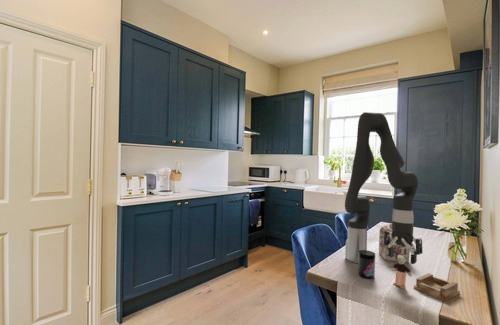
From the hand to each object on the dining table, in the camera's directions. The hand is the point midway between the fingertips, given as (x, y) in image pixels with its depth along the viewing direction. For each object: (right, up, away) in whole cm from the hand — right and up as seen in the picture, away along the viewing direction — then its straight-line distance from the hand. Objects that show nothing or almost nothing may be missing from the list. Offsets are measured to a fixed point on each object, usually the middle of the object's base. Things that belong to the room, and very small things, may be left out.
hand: (401, 260), depth 106 cm
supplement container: (-10, -11, +9) cm, 18 cm away
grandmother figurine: (0, -11, 0) cm, 11 cm away
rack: (+12, -11, -3) cm, 17 cm away
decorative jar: (+14, -11, +32) cm, 37 cm away
